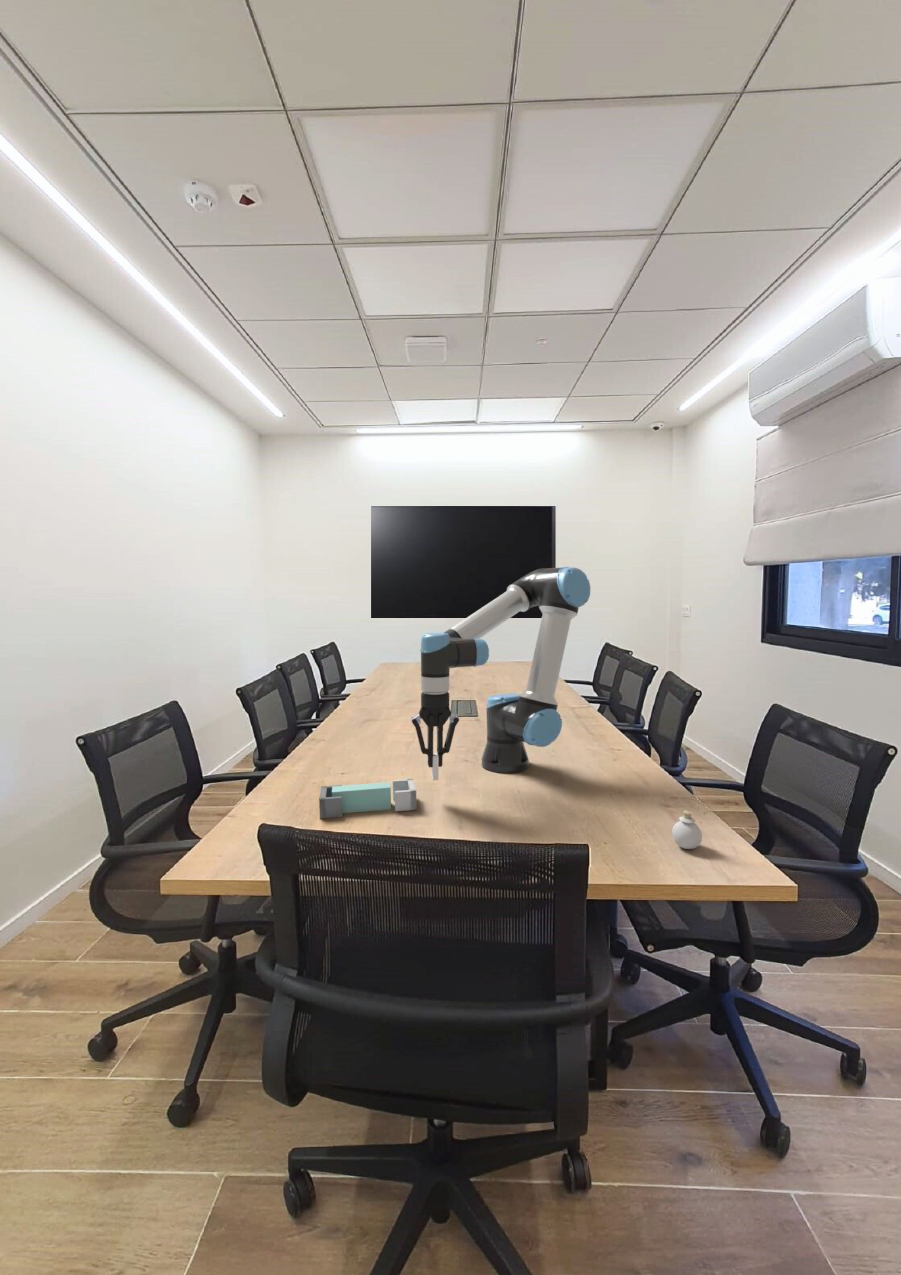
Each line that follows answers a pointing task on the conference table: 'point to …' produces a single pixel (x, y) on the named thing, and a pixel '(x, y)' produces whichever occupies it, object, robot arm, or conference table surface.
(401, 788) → the sliding cap
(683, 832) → the ornament
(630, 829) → the conference table surface
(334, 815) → the cap
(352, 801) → the block
